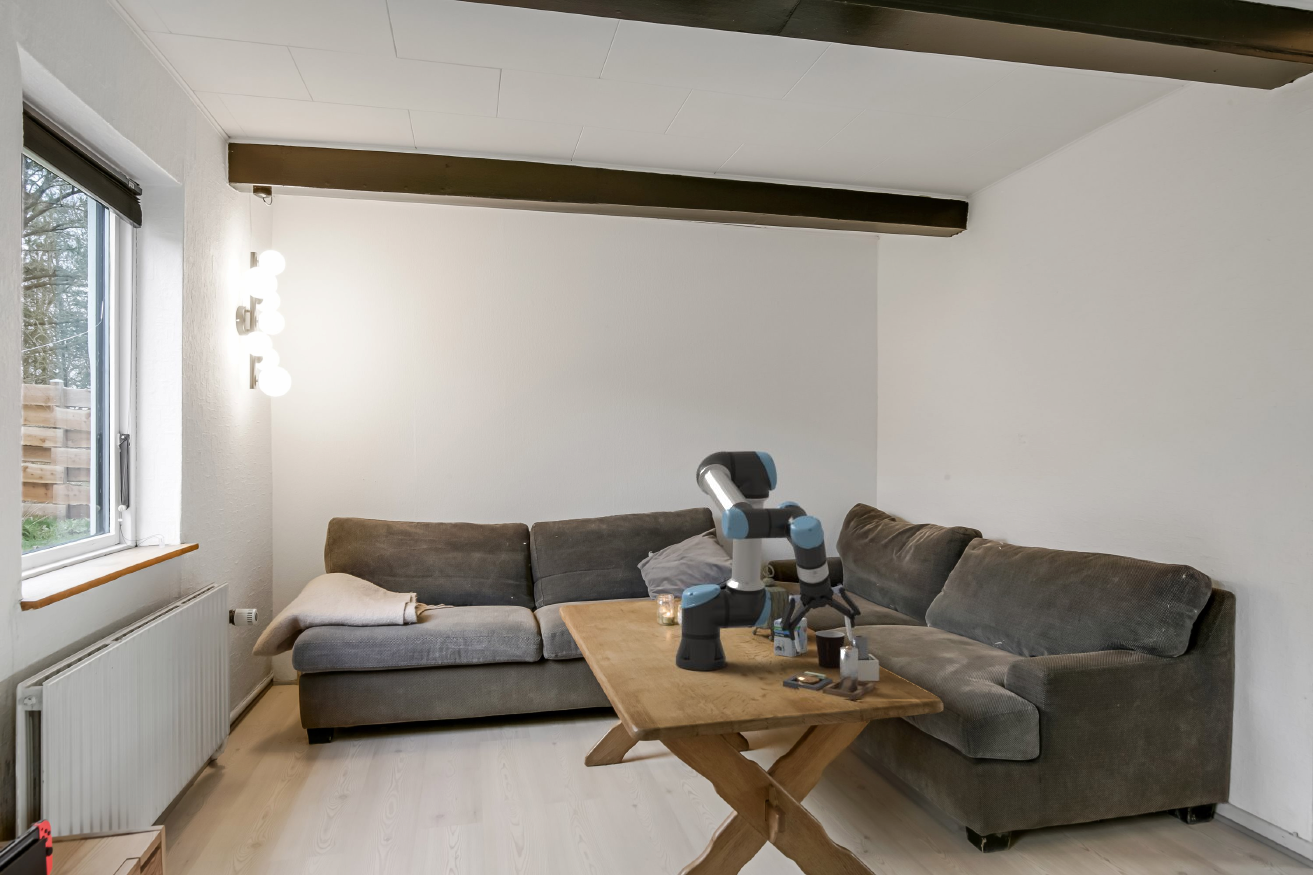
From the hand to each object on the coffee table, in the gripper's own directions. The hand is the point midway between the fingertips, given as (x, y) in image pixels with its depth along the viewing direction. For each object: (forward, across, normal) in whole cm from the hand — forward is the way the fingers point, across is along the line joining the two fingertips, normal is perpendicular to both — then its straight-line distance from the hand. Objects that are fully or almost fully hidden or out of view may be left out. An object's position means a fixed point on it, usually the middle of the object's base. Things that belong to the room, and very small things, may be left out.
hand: (823, 642), depth 204 cm
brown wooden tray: (+18, +5, 0) cm, 19 cm away
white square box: (+25, +11, +11) cm, 29 cm away
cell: (+18, +5, 0) cm, 18 cm away
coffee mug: (+28, +3, +21) cm, 35 cm away
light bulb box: (+35, -5, +39) cm, 52 cm away
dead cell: (+24, +11, +11) cm, 29 cm away
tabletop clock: (+43, -10, +59) cm, 73 cm away
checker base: (+19, -5, +7) cm, 21 cm away
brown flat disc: (+18, -5, +7) cm, 20 cm away
